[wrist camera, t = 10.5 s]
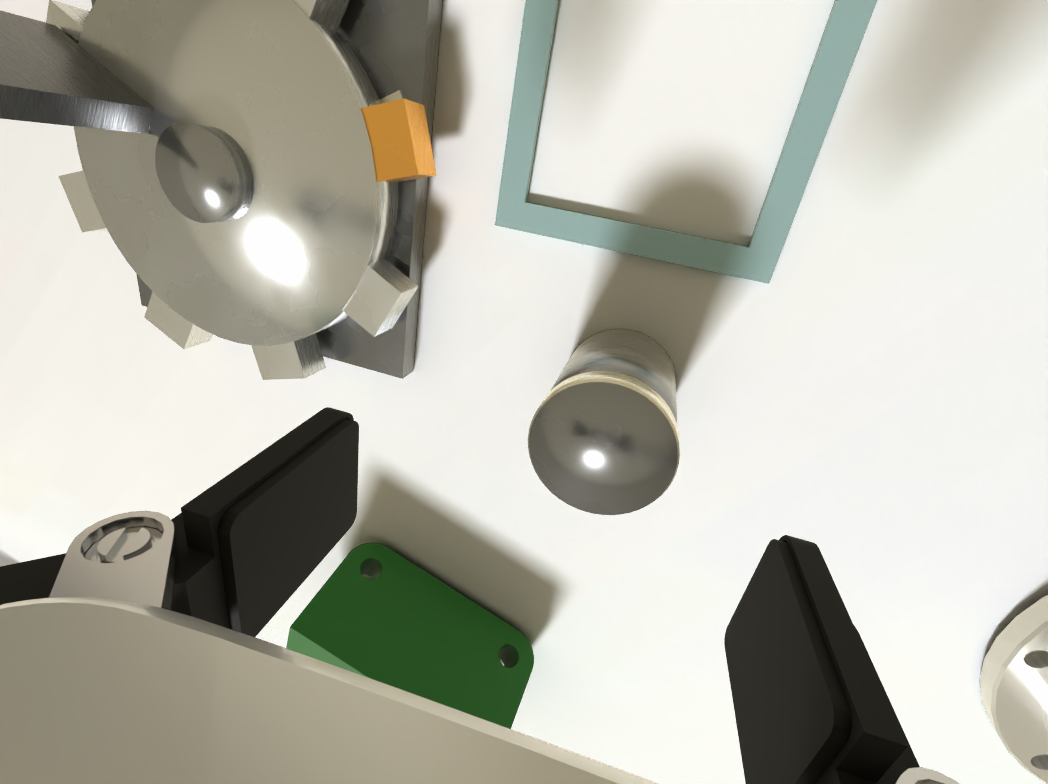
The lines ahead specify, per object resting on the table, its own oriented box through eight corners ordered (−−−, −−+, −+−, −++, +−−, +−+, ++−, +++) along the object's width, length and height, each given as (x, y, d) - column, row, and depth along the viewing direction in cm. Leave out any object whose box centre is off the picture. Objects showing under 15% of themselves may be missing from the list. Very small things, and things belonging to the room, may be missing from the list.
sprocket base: (443, -10, 16) (428, -23, 15) (413, 371, 22) (401, 379, 21) (108, -52, 19) (77, -66, 18) (160, 300, 25) (139, 305, 24)
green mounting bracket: (406, 550, 33) (268, 636, 27) (428, 506, 29) (272, 594, 23) (520, 713, 29) (388, 858, 23) (563, 687, 25) (417, 853, 19)
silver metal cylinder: (692, 343, 19) (700, 406, 13) (658, 444, 20) (654, 534, 15) (576, 315, 19) (541, 364, 14) (555, 415, 21) (516, 490, 16)
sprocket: (134, -211, 16) (-279, -518, 9) (522, 123, 16) (415, 77, 9) (56, 213, 23) (-203, 223, 16) (326, 433, 23) (186, 533, 17)
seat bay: (909, -94, 13) (915, -100, 13) (767, 282, 17) (769, 283, 17) (545, -123, 15) (543, -128, 14) (497, 224, 19) (494, 225, 19)
